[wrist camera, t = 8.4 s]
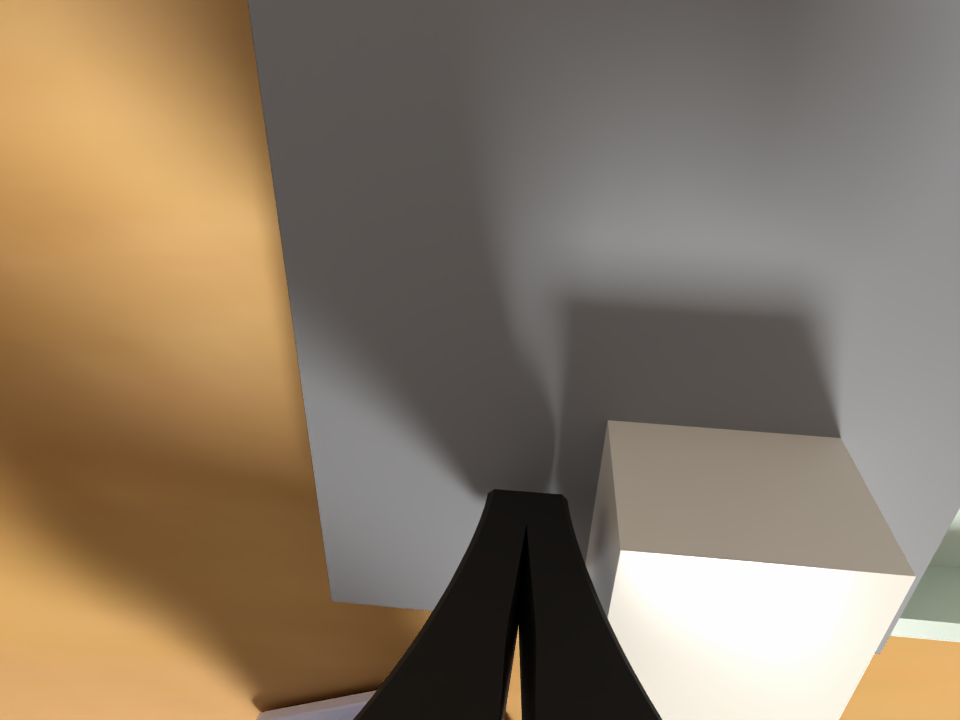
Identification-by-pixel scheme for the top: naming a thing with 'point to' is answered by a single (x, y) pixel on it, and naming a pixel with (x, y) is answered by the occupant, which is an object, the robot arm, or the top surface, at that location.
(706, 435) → the block
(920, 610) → the tray
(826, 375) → the plate
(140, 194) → the top surface
